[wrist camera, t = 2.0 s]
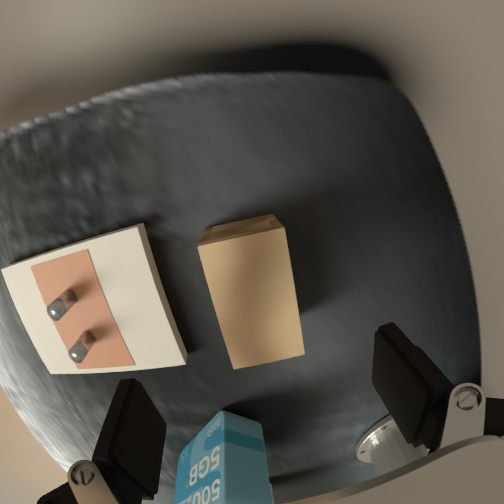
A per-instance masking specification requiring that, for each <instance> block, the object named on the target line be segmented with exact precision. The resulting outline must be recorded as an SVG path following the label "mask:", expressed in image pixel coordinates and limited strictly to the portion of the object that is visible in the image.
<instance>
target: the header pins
mask: <svg viewBox="0 0 504 504" xmlns="http://www.w3.org/2000/svg"><path fill="white" fill-rule="evenodd" d="M76 302H77V296H76V294H75V292H74V291H72V290H70V289H67V290H65V291H64V292H63V293H62V294H60V295H59V296H58V297H57V298H56V299H55V300H54V301H53V302H51V303H50V304H49V305H48V306H47V313H48V315H49V317H50V318H51V319H52V320H54V321H59V320H60V319H61V318H62V317H63V316H64V315H65V314H66V313H67V312H68V311H69V310H70V308H71V307H72V306H73V305H74V304H75V303H76ZM95 341H96V339H95V336H94V335H93V334H92V333H91V332H89V331H84V332H83V333H82V334H81V335H80V337H79V338H78V339H77V341H76V342H75V343H74V344H73V346H72V347H71V348H70V350H69V351H68V355H69V357H70V359H71V360H72V361H74V362H75V363H82V361H83V360H84V358H85V357H86V355H87V354H88V352H89V351H90V349H91V348H92V346H93V345H94V343H95Z"/></svg>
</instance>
